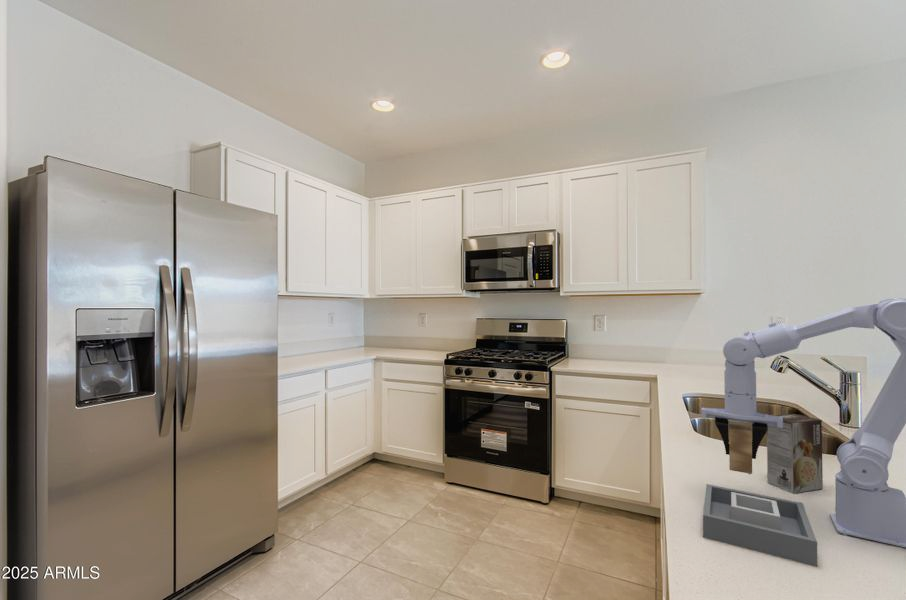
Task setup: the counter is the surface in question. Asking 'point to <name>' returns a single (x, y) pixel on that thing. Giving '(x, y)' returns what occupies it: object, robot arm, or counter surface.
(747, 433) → the peg
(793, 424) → the coffee box
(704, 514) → the socket box
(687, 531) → the counter surface
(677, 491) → the counter surface
